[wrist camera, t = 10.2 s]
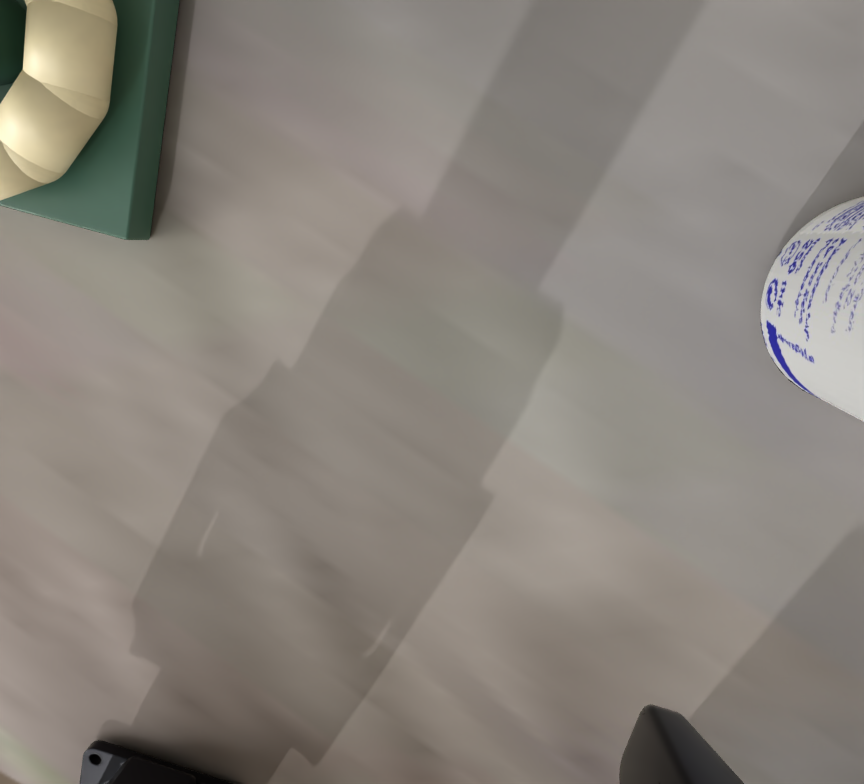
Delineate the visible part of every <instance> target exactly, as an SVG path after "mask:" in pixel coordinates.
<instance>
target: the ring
mask: <svg viewBox="0 0 864 784" xmlns="http://www.w3.org/2000/svg"><path fill="white" fill-rule="evenodd" d="M25 3H26V6H27V13H26V28H25V43H24V58H23V69H22V71H21V73H20V74H19V76H18V77H17V79H16V80H15V82H14V83H13V85H12V87H11V88H10V90H9V91H8V93H7V94H6V96H5V97H4V99H3V100H2V102H1V104H0V200H3V199H6V198H9V197H12V196H14V195H17V194H20V193H23V192H26V191H28V190H31V189H34V188H37V187H40V186H43V185H45V184H48V183H51V182H53V181H56V180H57V179H59V178H60V177H62V176H63V174H65V173H66V171H67V170H68V169H69V167H70V166H71V164H72V163H73V162H74V160H75V159H76V157H77V156H78V154H79V153H80V152H81V150H82V149H83V147H84V146H85V144H86V143H87V142H88V140H89V139H90V137H91V136H92V135H93V133H94V132H95V130H96V129H97V127H98V126H99V125H100V123H101V122H102V120H103V119H104V117H105V116H106V114H107V112H108V108H109V104H110V95H111V85H112V75H113V65H114V56H115V46H116V36H117V25H118V24H117V14H116V10H115V6H114V4H113V1H112V0H25Z"/></svg>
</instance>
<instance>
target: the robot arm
mask: <svg viewBox="0 0 864 784" xmlns="http://www.w3.org/2000/svg"><path fill="white" fill-rule="evenodd" d="M619 779H620V784H744V783H743V782H742V781H741V780H740V778H739V777H738V776H737V775H736V774H735V773H734V772H733V771H732V770H731V768H730V767H729V766H728V765H727V764H726V763H725V762H724V761H723V760H722V759H721V757H720V756H719V755H718V754H717V753H716V752H715V751H714V750H713V749H712V747H711V746H710V745H709V744H708V743H707V742H706V741H705V740H704V739H703V738H702V736H701V735H700V734H699V733H698V732H697V731H696V730H695V729H694V728H693V727H692V725H691V724H690V723H689V722H688V721H687V720H686V719H685V718H684V717H683V716H682V715H681V714H679V713H678V712H675V711H671V710H668V709H665V708H662V707H658V706H655V705H651V704H650V705H647V706H645V707H644V708H643V709H642V711H641V712H640V714H639V717H638V719H637V722H636V724H635V726H634V729H633V731H632V734H631V736H630V739H629V741H628V743H627V746H626V748H625V751H624V753H623V756H622V760H621V765H620V774H619ZM80 784H232V783H229V782H226V781H223V780H220V779H217V778H214V777H211V776H208V775H205V774H202V773H199V772H196V771H193V770H190V769H187V768H183V767H180V766H177V765H174V764H171V763H168V762H165V761H162V760H159V759H156V758H153V757H150V756H147V755H144V754H141V753H138V752H135V751H132V750H129V749H126V748H123V747H120V746H116V745H113V744H110V743H107V742H104V741H99V740H98V741H94V742H93V743H92V744H91V745H90V746H89V747H88V749H87V750H86V751H85V752H84V755H83V761H82V769H81V777H80Z"/></svg>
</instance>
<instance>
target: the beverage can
mask: <svg viewBox="0 0 864 784" xmlns="http://www.w3.org/2000/svg"><path fill="white" fill-rule="evenodd" d="M760 315H761V329H762V334H763V338H764V342H765V345H766V347H767V350H768V352H769V354H770V356H771V358H772V360H773V362H774V363H775V364H776V366H777V367H778V368H779V370H780V371H781V372H782V373H783V374H784V375H785V376H786V377H787V378H788V379H789V380H790V381H791V382H792V383H793V384H795V385H796V386H798V387H799V388H800V389H802V390H803V391H805V392H807V393H809V394H811V395H813V396H815V397H817V398H820V399H822V400H824V401H825V402H827V403H829V404H831V405H833V406H835V407H837V408H839V409H841V410H843V411H844V412H846V413H848V414H850V415H852V416H854V417H856V418H858V419H860V420H862V421H863V422H864V197H860V198H856V199H853V200H849V201H847V202H844V203H842V204H839V205H836V206H834V207H833V208H831V209H829V210H827V211H825V212H823V213H822V214H820V215H818V216H817V217H815V218H814V219H813V220H811V221H810V222H809V223H807V224H806V225H805V226H804V227H803V228H801V229H800V230H799V231H798V232H797V233H796V234H795V235H794V236H793V237H792V238H791V239H790V240H789V242H788V243H787V244H786V245H785V247H784V248H783V249H782V251H781V252H780V254H779V255H778V257H777V258H776V260H775V262H774V264H773V266H772V268H771V270H770V272H769V274H768V277H767V280H766V282H765V285H764V289H763V294H762V299H761V307H760Z"/></svg>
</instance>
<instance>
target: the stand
mask: <svg viewBox="0 0 864 784" xmlns="http://www.w3.org/2000/svg"><path fill="white" fill-rule="evenodd" d="M112 1H113V4H114V6H115V10H116V14H117V24H118V25H117V36H116V46H115V56H114V65H113V75H112V85H111V95H110V104H109V108H108V112H107V114H106V116H105V117H104V119H103V120H102V122H101V123H100V125H99V126H98V127H97V129H96V130H95V132H94V133H93V135H92V136H91V137H90V139H89V140H88V142H87V143H86V144H85V146H84V147H83V149H82V150H81V152H80V153H79V154H78V156H77V157H76V159H75V160H74V162H73V163H72V164H71V166H70V167H69V169H68V170H67V171H66V173H65V174H63V176H62V177H60V178H59V179H57V180H56V181H53V182H51V183H48V184H45V185H43V186H40V187H37V188H34V189H31V190H28V191H26V192H23V193H20V194H17V195H14V196H12V197H9V198H6V199H3V200H0V206H4V207H7V208H11V209H15V210H18V211H22V212H26V213H29V214H33V215H37V216H40V217H44V218H48V219H51V220H55V221H59V222H62V223H66V224H70V225H74V226H77V227H81V228H85V229H88V230H92V231H96V232H99V233H103V234H107V235H110V236H114V237H118V238H121V239H125V240H149V238H150V232H151V224H152V216H153V208H154V200H155V192H156V184H157V176H158V168H159V160H160V152H161V144H162V136H163V128H164V120H165V112H166V104H167V97H168V89H169V81H170V73H171V65H172V57H173V49H174V41H175V33H176V25H177V17H178V9H179V1H180V0H112ZM26 13H27V6H26V3H25V0H0V104H1V102H2V100H3V99H4V97H5V96H6V94H7V93H8V91H9V90H10V88H11V87H12V85H13V83H14V82H15V80H16V79H17V77H18V76H19V74H20V73H21V71H22V69H23V58H24V43H25V28H26Z"/></svg>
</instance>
